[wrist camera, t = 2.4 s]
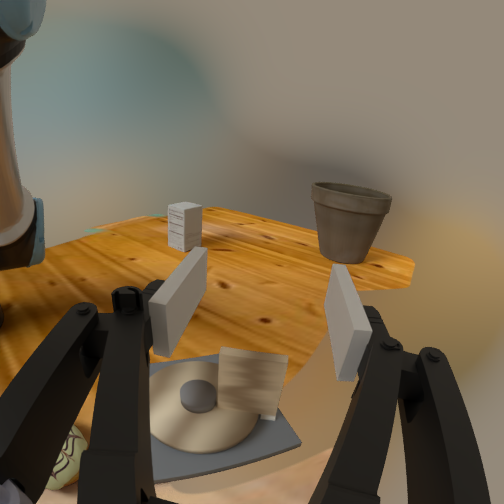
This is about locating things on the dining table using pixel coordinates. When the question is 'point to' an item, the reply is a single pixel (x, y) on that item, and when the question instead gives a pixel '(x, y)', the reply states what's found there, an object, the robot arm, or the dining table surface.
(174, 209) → the supplement box
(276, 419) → the dial plate
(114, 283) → the dining table surface
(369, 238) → the plant pot
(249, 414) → the dial
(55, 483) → the decorated donut
